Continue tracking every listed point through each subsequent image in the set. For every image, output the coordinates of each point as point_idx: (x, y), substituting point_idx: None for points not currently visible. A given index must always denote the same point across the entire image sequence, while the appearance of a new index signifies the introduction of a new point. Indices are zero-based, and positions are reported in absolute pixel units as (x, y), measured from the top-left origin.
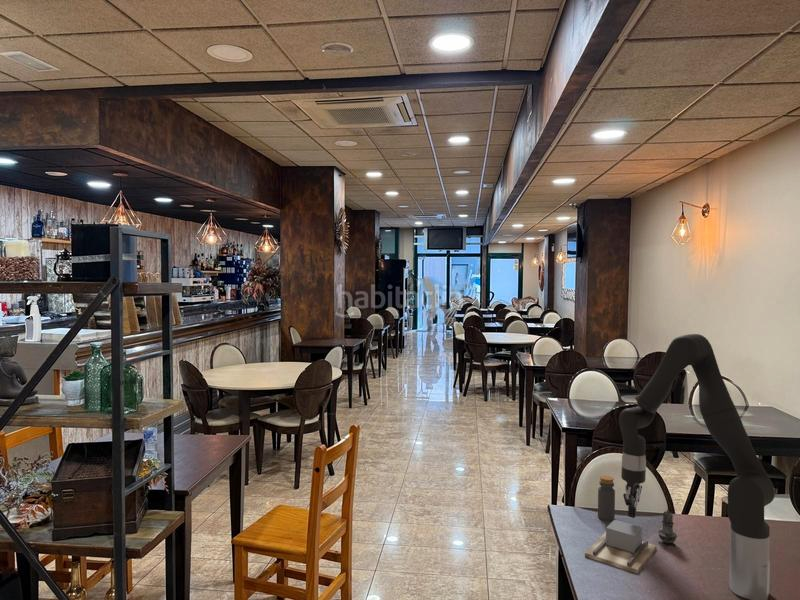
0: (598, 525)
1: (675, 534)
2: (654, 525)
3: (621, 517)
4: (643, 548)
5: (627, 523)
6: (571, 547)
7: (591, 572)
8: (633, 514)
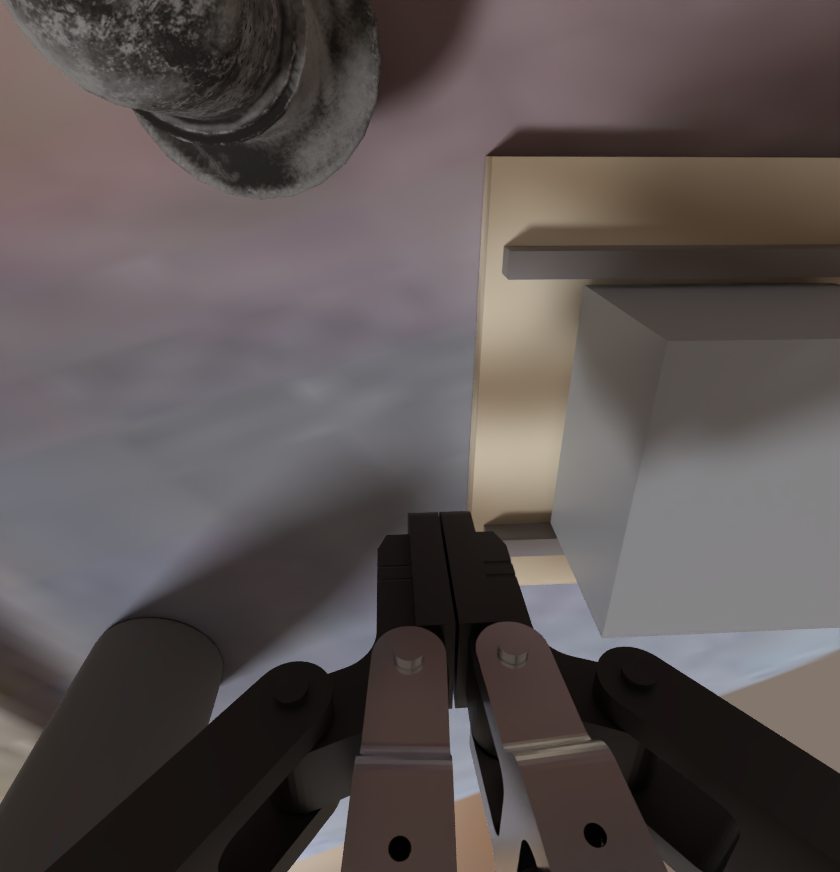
0: (343, 649)
1: None
2: None
3: (44, 594)
4: (663, 246)
5: (635, 517)
6: (793, 641)
7: None
8: (485, 549)
